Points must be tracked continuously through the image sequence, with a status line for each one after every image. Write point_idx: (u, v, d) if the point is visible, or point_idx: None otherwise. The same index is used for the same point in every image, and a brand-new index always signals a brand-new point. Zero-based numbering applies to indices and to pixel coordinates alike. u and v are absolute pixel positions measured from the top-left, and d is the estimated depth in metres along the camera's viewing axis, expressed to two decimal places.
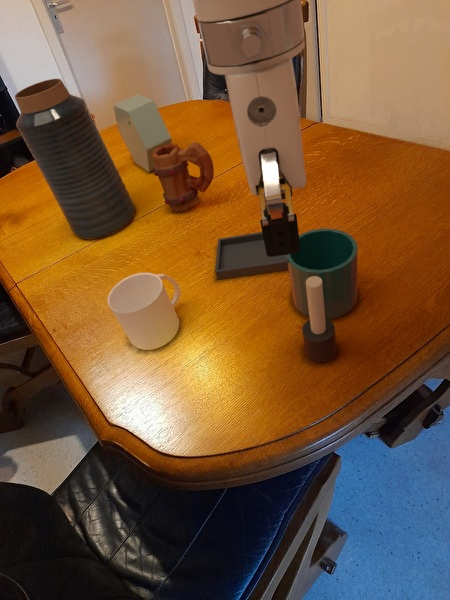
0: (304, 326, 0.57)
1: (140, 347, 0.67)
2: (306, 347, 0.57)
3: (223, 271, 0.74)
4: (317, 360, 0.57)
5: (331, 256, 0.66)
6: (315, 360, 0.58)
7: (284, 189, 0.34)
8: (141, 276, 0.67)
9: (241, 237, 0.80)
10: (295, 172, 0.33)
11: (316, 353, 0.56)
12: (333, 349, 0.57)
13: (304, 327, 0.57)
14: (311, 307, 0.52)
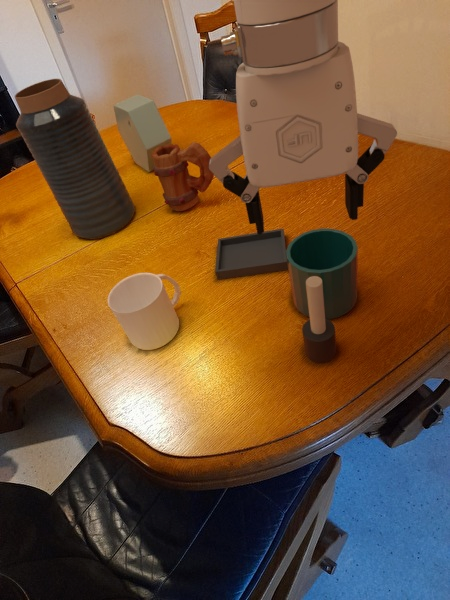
0: (304, 326, 0.57)
1: (140, 347, 0.67)
2: (306, 347, 0.57)
3: (223, 271, 0.74)
4: (317, 360, 0.57)
5: (331, 256, 0.66)
6: (315, 360, 0.58)
7: None
8: (141, 276, 0.67)
9: (241, 237, 0.80)
10: (245, 166, 0.37)
11: (316, 353, 0.56)
12: (333, 349, 0.57)
13: (304, 327, 0.57)
14: (311, 307, 0.52)
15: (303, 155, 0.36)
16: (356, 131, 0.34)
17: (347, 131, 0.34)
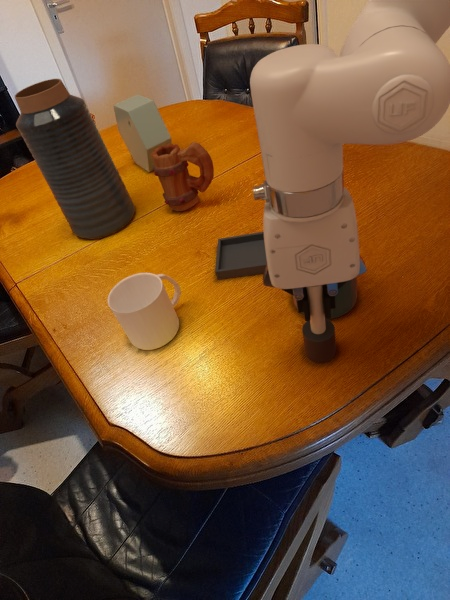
0: (304, 326, 0.57)
1: (140, 347, 0.67)
2: (306, 347, 0.57)
3: (223, 271, 0.74)
4: (317, 360, 0.57)
5: None
6: (315, 360, 0.58)
7: None
8: (141, 276, 0.67)
9: (241, 237, 0.80)
10: (269, 274, 0.47)
11: (316, 353, 0.56)
12: (333, 349, 0.57)
13: (304, 327, 0.57)
14: (311, 307, 0.52)
15: (316, 269, 0.45)
16: (358, 253, 0.43)
17: (351, 254, 0.43)
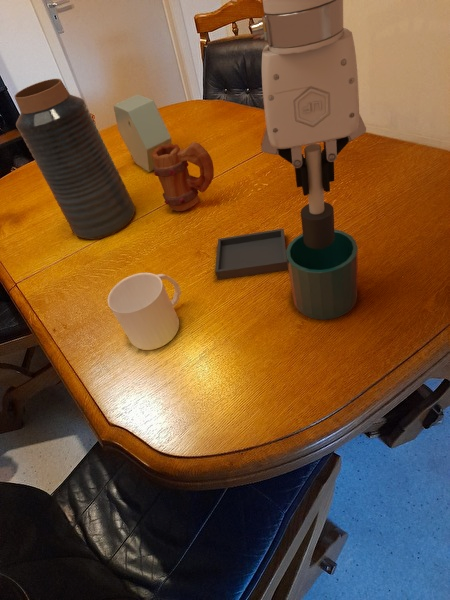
0: (302, 210, 0.56)
1: (140, 347, 0.67)
2: (304, 232, 0.57)
3: (223, 271, 0.74)
4: (315, 245, 0.57)
5: (331, 256, 0.66)
6: (313, 246, 0.57)
7: None
8: (141, 276, 0.67)
9: (241, 237, 0.80)
10: (267, 131, 0.46)
11: (315, 235, 0.56)
12: (332, 233, 0.56)
13: (302, 210, 0.56)
14: (310, 179, 0.51)
15: (315, 120, 0.44)
16: (357, 100, 0.43)
17: (350, 100, 0.43)
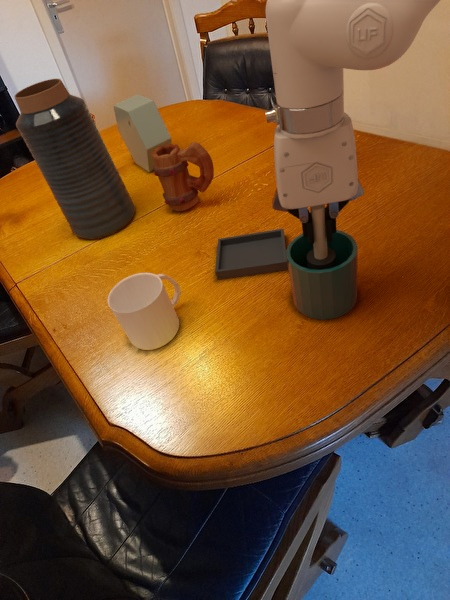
0: (308, 254, 0.63)
1: (140, 347, 0.67)
2: None
3: (223, 271, 0.74)
4: None
5: None
6: None
7: None
8: (141, 276, 0.67)
9: (241, 237, 0.80)
10: (278, 195, 0.53)
11: None
12: None
13: (308, 255, 0.63)
14: (315, 231, 0.58)
15: (319, 187, 0.51)
16: (356, 172, 0.50)
17: (350, 172, 0.50)
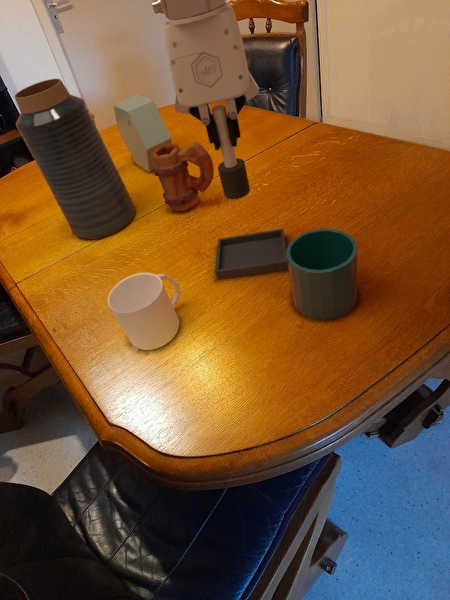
0: (219, 165, 0.66)
1: (140, 347, 0.67)
2: (222, 184, 0.66)
3: (223, 271, 0.74)
4: (232, 196, 0.66)
5: (331, 256, 0.66)
6: (230, 196, 0.67)
7: (198, 106, 0.58)
8: (141, 276, 0.67)
9: (241, 237, 0.80)
10: None
11: (230, 186, 0.65)
12: (245, 185, 0.66)
13: (219, 165, 0.66)
14: (219, 135, 0.61)
15: (211, 81, 0.54)
16: (243, 64, 0.52)
17: (237, 64, 0.52)
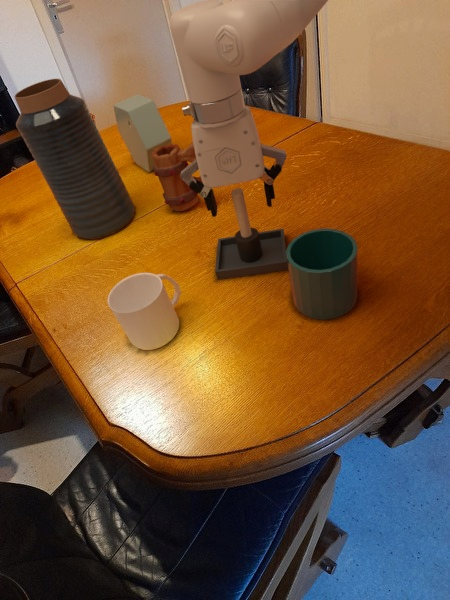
0: (236, 233, 0.75)
1: (140, 347, 0.67)
2: (238, 250, 0.76)
3: (223, 271, 0.74)
4: (247, 260, 0.76)
5: (331, 256, 0.66)
6: (246, 260, 0.76)
7: None
8: (141, 276, 0.67)
9: None
10: None
11: (245, 253, 0.75)
12: (258, 251, 0.75)
13: (236, 234, 0.75)
14: (237, 213, 0.70)
15: (232, 169, 0.62)
16: (260, 155, 0.61)
17: (254, 155, 0.61)
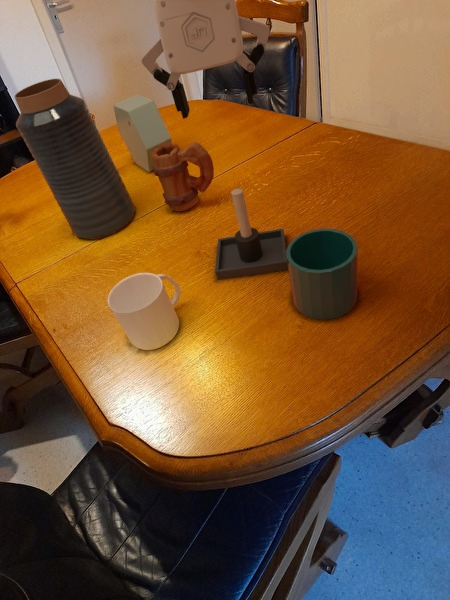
0: (236, 233, 0.75)
1: (140, 347, 0.67)
2: (238, 250, 0.76)
3: (223, 271, 0.74)
4: (247, 260, 0.76)
5: (331, 256, 0.66)
6: (246, 260, 0.76)
7: None
8: (141, 276, 0.67)
9: None
10: (165, 57, 0.53)
11: (245, 253, 0.75)
12: (258, 251, 0.75)
13: (236, 234, 0.75)
14: (237, 213, 0.70)
15: (203, 45, 0.51)
16: (237, 25, 0.50)
17: (230, 25, 0.49)
